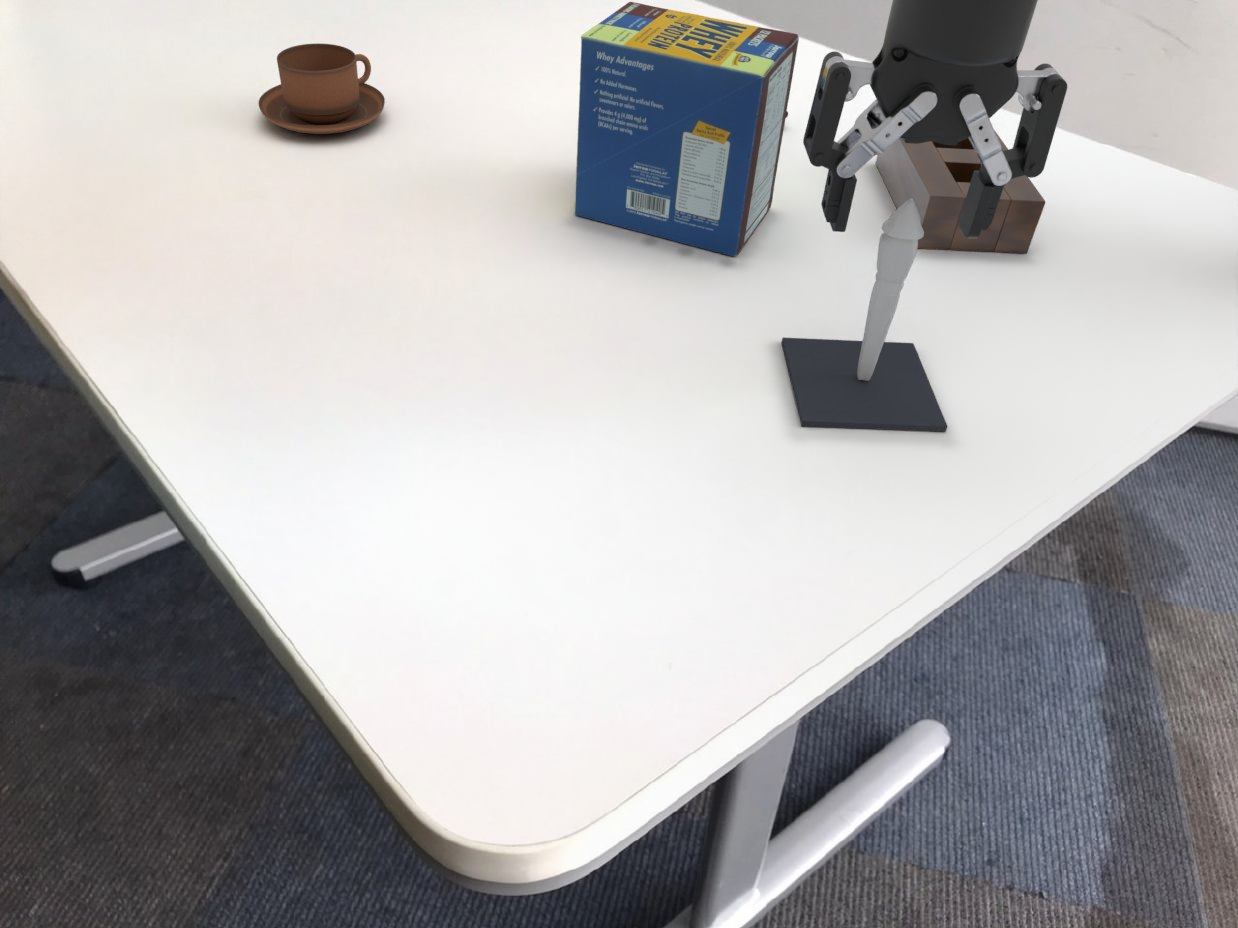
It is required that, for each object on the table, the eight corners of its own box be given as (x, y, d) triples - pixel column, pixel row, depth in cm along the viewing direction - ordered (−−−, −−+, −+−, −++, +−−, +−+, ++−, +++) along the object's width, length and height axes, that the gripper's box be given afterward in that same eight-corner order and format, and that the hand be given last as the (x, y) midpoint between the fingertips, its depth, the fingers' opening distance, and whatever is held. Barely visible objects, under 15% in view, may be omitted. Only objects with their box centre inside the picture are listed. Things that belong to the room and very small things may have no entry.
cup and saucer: (306, 88, 107) (298, 27, 103) (408, 110, 104) (403, 49, 100) (236, 129, 98) (224, 65, 94) (344, 155, 96) (336, 90, 92)
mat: (911, 348, 77) (913, 342, 77) (945, 432, 70) (948, 426, 69) (781, 342, 77) (782, 337, 76) (801, 426, 69) (802, 420, 69)
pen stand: (973, 168, 102) (988, 120, 99) (1027, 254, 90) (1046, 201, 86) (875, 163, 102) (887, 114, 98) (915, 248, 89) (930, 195, 86)
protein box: (617, 170, 97) (628, -1, 87) (772, 208, 93) (802, 33, 83) (570, 216, 89) (577, 34, 79) (737, 259, 86) (766, 74, 75)
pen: (882, 391, 72) (935, 210, 63) (844, 387, 72) (891, 205, 63) (879, 371, 74) (930, 191, 64) (842, 366, 74) (888, 187, 65)
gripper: (857, -32, 51) (800, 254, 62) (1133, -16, 52) (1030, 264, 62) (831, -72, 57) (783, 197, 67) (1080, -57, 57) (994, 207, 68)
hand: (902, 229), depth 65 cm, fingers open, 8 cm apart
